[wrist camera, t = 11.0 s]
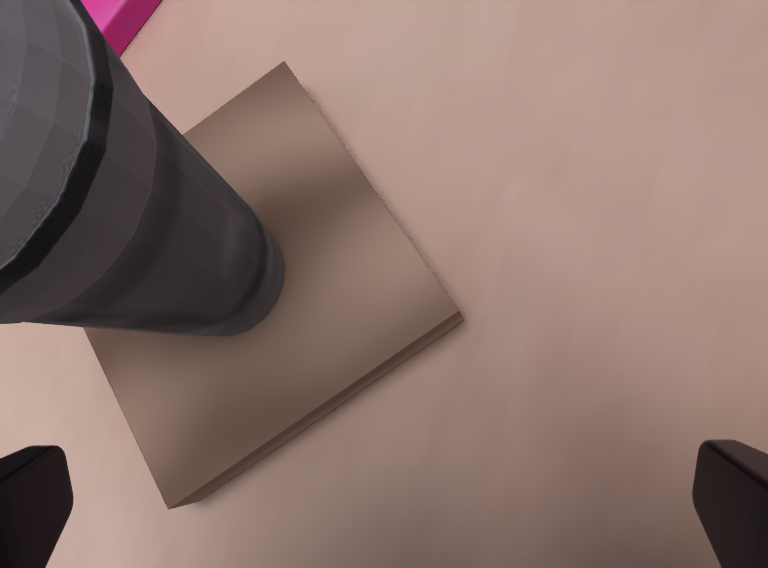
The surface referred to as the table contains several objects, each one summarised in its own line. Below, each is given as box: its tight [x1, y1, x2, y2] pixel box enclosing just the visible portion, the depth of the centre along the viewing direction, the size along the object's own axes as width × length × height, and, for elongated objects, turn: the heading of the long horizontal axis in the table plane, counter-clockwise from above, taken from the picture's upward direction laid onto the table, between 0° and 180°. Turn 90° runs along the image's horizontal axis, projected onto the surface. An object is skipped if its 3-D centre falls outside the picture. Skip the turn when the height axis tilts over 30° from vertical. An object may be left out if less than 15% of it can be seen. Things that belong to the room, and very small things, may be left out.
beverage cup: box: [0, 0, 285, 336], centre depth 13 cm, size 7×7×20 cm
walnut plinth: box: [83, 61, 464, 509], centre depth 23 cm, size 12×12×2 cm
